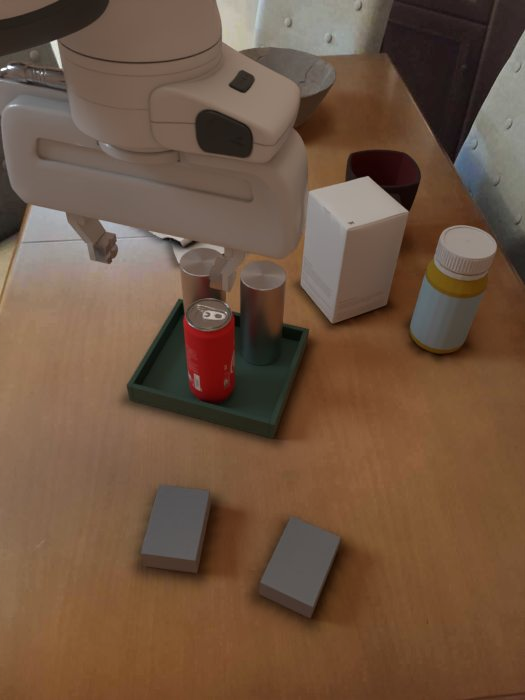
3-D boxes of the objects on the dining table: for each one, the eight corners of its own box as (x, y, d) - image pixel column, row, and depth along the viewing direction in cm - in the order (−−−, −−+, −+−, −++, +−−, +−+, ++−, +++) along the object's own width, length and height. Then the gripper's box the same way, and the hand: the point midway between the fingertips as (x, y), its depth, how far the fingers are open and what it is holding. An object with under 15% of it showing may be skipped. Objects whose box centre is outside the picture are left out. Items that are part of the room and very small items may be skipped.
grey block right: (258, 594, 54) (259, 582, 52) (289, 528, 58) (291, 515, 56) (310, 619, 52) (313, 607, 50) (337, 550, 57) (341, 537, 55)
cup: (394, 219, 94) (410, 148, 85) (416, 276, 85) (436, 203, 76) (332, 220, 94) (342, 149, 85) (347, 278, 84) (360, 205, 75)
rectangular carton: (389, 306, 80) (412, 211, 69) (331, 326, 77) (347, 230, 66) (352, 267, 86) (369, 173, 75) (298, 284, 83) (307, 189, 72)
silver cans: (180, 346, 73) (172, 270, 65) (195, 319, 77) (189, 243, 68) (274, 369, 71) (279, 294, 62) (285, 341, 74) (291, 265, 66)
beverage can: (195, 369, 71) (189, 293, 62) (238, 375, 70) (238, 300, 62) (185, 403, 67) (176, 328, 59) (230, 410, 67) (228, 335, 58)
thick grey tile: (143, 566, 55) (140, 553, 53) (161, 498, 60) (159, 484, 58) (197, 573, 55) (195, 560, 53) (211, 504, 60) (209, 490, 58)
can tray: (129, 400, 68) (126, 385, 66) (180, 313, 78) (178, 298, 76) (273, 439, 65) (274, 425, 63) (307, 343, 75) (309, 328, 73)
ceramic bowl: (350, 115, 118) (357, 63, 111) (293, 166, 104) (297, 110, 97) (254, 88, 125) (255, 37, 118) (189, 132, 112) (186, 77, 104)
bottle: (451, 364, 73) (489, 269, 62) (399, 341, 76) (426, 246, 65) (471, 331, 77) (509, 236, 66) (421, 310, 80) (449, 215, 69)
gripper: (-48, 76, 34) (14, 266, 44) (301, 141, 31) (282, 330, 41) (14, 37, 38) (58, 219, 48) (327, 91, 35) (303, 274, 45)
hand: (162, 271), depth 45 cm, fingers open, 8 cm apart
